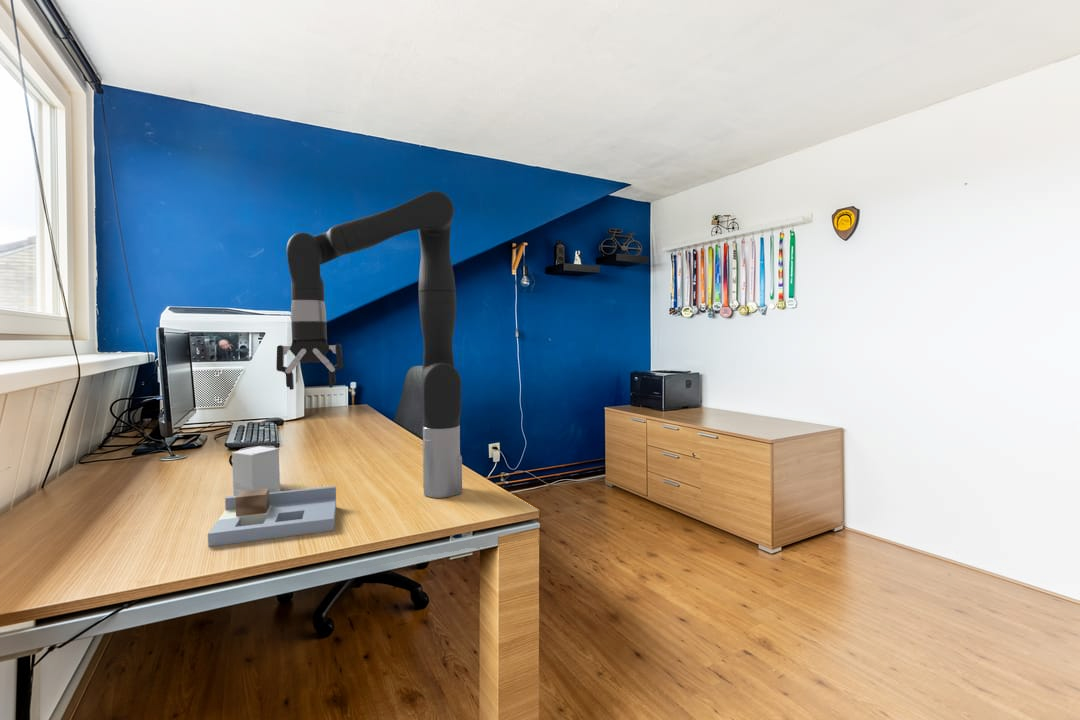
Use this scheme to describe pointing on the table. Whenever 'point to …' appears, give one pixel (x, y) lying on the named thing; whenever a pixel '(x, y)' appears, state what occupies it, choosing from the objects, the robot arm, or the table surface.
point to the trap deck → (278, 517)
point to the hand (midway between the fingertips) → (311, 388)
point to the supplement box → (256, 469)
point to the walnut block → (252, 502)
